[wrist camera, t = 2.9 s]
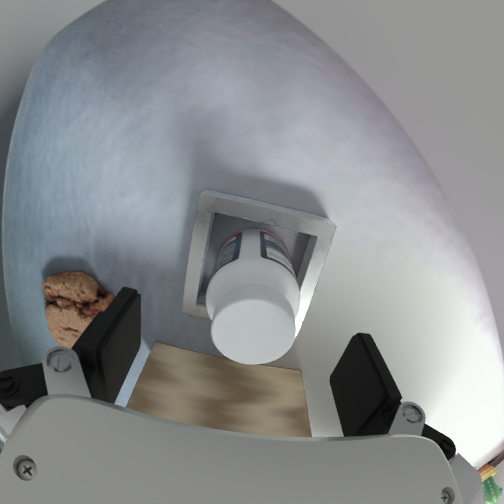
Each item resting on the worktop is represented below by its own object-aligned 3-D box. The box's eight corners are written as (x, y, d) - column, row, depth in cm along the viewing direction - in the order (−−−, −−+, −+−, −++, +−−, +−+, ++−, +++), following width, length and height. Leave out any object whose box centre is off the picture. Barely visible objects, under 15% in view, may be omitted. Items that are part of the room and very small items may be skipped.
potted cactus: (473, 476, 61) (486, 508, 38) (464, 479, 59) (477, 514, 35) (496, 458, 56) (511, 490, 33) (489, 460, 54) (505, 496, 30)
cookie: (50, 329, 24) (37, 344, 22) (49, 250, 21) (31, 262, 18) (122, 367, 26) (112, 386, 23) (135, 291, 22) (121, 309, 19)
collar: (329, 218, 19) (336, 225, 17) (294, 321, 22) (296, 336, 21) (205, 188, 19) (199, 193, 17) (186, 299, 22) (181, 312, 20)
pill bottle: (222, 293, 22) (204, 374, 13) (214, 229, 20) (185, 288, 11) (289, 290, 21) (306, 370, 13) (288, 225, 20) (311, 281, 11)
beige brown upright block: (301, 368, 24) (318, 466, 14) (293, 385, 25) (304, 478, 15) (155, 339, 23) (113, 432, 13) (154, 358, 24) (119, 447, 14)
